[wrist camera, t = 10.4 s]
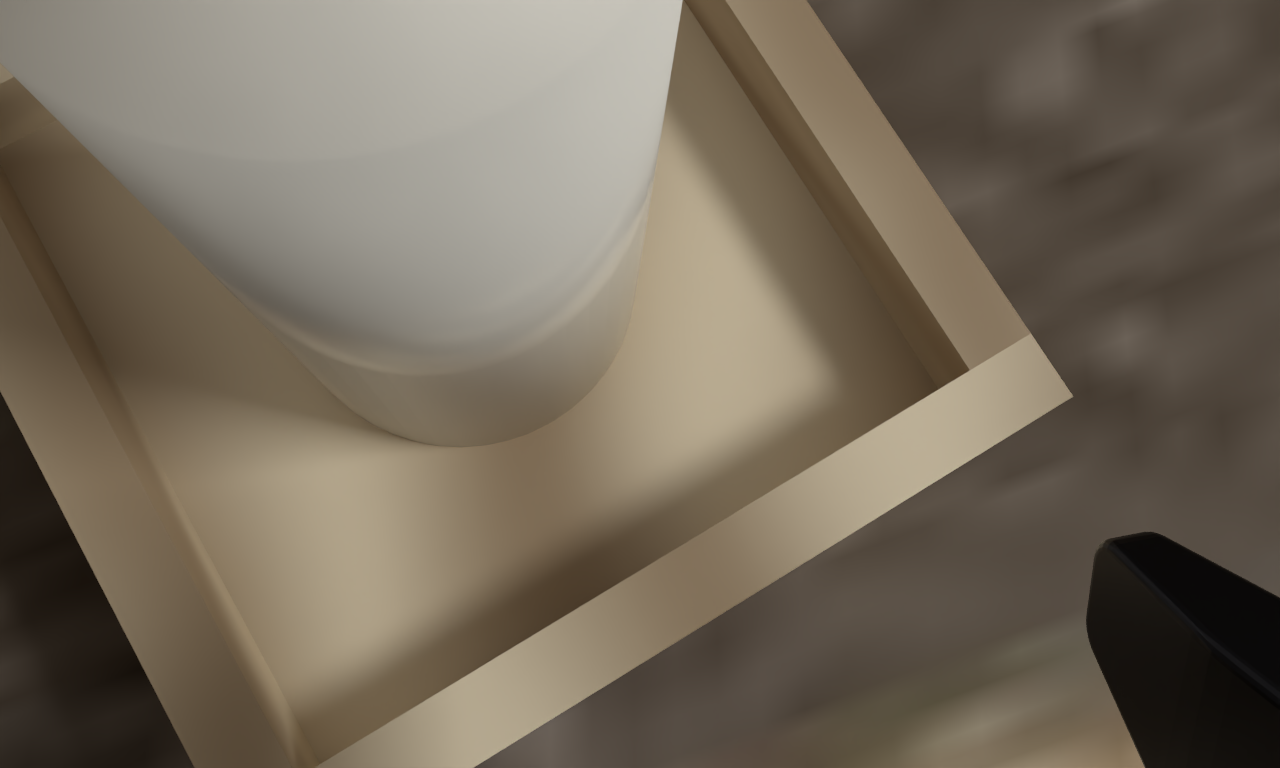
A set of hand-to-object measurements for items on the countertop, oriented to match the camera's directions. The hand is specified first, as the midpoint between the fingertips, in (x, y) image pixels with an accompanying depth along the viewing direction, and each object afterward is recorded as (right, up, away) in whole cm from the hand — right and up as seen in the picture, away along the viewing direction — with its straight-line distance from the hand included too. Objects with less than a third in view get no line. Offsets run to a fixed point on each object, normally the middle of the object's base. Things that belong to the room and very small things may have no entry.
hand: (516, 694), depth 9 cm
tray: (-2, +4, +9) cm, 10 cm away
